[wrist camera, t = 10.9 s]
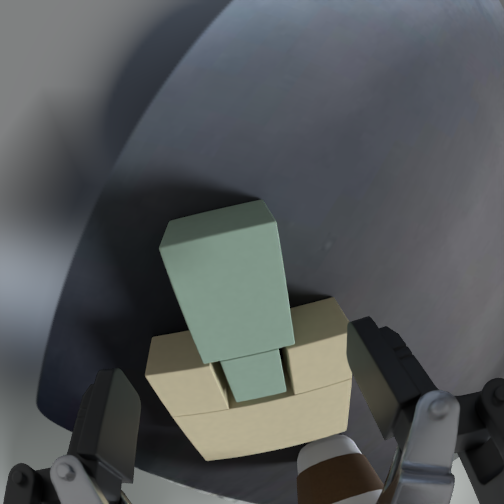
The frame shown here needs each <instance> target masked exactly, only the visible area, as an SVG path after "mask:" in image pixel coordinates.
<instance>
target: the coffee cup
mask: <svg viewBox="0 0 504 504" xmlns="http://www.w3.org/2000/svg"><path fill="white" fill-rule="evenodd" d="M297 466H298V477H297V493H298V504H376V502H377V500H378V498H379V496H380V494H381V492H382V489H383V487H384V484H383V483H382V481H381V480H380V478H379V477H378V475H377V474H376V472H375V471H374V469H373V467H372V466H371V464H370V463H369V461H368V460H367V458H366V457H365V455H363V454H361V452H360V451H359V449H358V447H357V446H356V444H355V443H354V441H353V440H351V439H350V438H349V437H347V436H345V435H331V436H328V437H325V438H321V439H318V440H315V441H313V442H311V443H309V444H307V445H306V446H305V447H303V448H302V449H301V450H300V452H299V455H298V459H297Z"/></svg>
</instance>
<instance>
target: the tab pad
mask: <svg viewBox="0 0 504 504" xmlns="http://www.w3.org/2000/svg"><path fill="white" fill-rule="evenodd" d="M159 251H160V254H161V256H162V259H163V262H164V265H165V268H166V271H167V274H168V276H169V279H170V282H171V285H172V287H173V290H174V293H175V295H176V298H177V301H178V303H179V306H180V308H181V311H182V313H183V316H184V318H185V321H186V323H187V326H188V328H189V331H190V333H191V336H192V338H193V341H194V343H195V345H196V348H197V350H198V352H199V355H200V357H201V359H202V362H203V363H204V364H206V363H212V362H217V361H220V363H221V366H222V368H223V371H224V373H225V376H226V378H227V381H228V383H229V386H230V388H231V391H232V393H233V396H234V398H235V400H236V402H242V401H247V400H252V399H257V398H261V397H266V396H270V395H275V394H279V393H283V392H286V385H285V380H284V374H283V369H282V364H281V358H280V353H279V348H282V347H286V346H290V345H293V344H295V340H294V333H293V326H292V319H291V312H290V305H289V298H288V292H287V285H286V279H285V272H284V266H283V259H282V253H281V247H280V241H279V235H278V229H277V223H276V220H275V219H274V217H273V216H272V214H271V212H270V211H269V209H268V208H267V206H266V204H265V203H264V201H263V200H256V201H252V202H247V203H243V204H238V205H234V206H229V207H225V208H220V209H216V210H212V211H208V212H203V213H199V214H195V215H191V216H187V217H183V218H179V219H175V220H171V221H169V223H168V225H167V228H166V230H165V233H164V236H163V238H162V241H161V244H160V246H159Z"/></svg>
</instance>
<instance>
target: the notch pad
mask: <svg viewBox="0 0 504 504" xmlns="http://www.w3.org/2000/svg"><path fill="white" fill-rule="evenodd" d="M290 312H291V319H292V326H293V333H294V340H295V344H293V345H290V346H286V347H282V354H283V359H281V364H282V369H283V374H284V380H285V385H286V392H283V393H279V394H275V395H270V396H266V397H261V398H257V399H252V400H247V401H242V402H236V400H235V398H234V396H233V393H232V391H231V388H230V386H229V383H228V381H227V378H226V376H225V373H224V371H223V368H222V366H221V363H220V361H217V362H212V363H206V364H204V363H203V362H202V359H201V357H200V355H199V352H198V350H197V348H196V345H195V343H194V341H193V338H192V336H191V333H190V331H189V330H188V331H183V332H177V333H172V334H166V335H161V336H155V337H152V340H151V345H150V350H149V356H148V361H147V366H146V372H145V377H146V378H147V380H148V382H149V383H150V385H151V386H152V388H153V389H154V391H155V392H156V394H157V395H158V397H159V398H160V400H161V401H162V403H163V404H164V406H165V407H166V409H167V410H168V411H169V413H170V414H171V416H172V417H173V419H174V420H175V421H176V423H177V424H178V425H179V427H180V428H181V430H182V431H183V432H184V433H185V435H186V436H187V437H188V439H189V440H190V441H191V443H192V444H193V445H194V446H195V448H196V449H197V450H198V451H199V453H200V454H201V455H202V456H203V458H204V459H205V460H206V461H210V460H219V459H227V458H234V457H240V456H246V455H252V454H258V453H263V452H268V451H273V450H278V449H282V448H287V447H291V446H295V445H299V444H303V443H307V442H310V441H314V440H318V439H321V438H325V437H328V436H331V435H334V434H338V433H341V432H344V431H346V430H347V422H348V413H349V404H350V394H351V382H352V372H351V370H350V367H349V364H348V361H347V355H346V348H347V325H348V323H349V321H348V319H347V318H346V316H345V315H344V313H343V311H342V310H341V308H340V307H339V305H338V303H337V302H336V300H335V299H334V297H332V298H328V299H324V300H320V301H317V302H313V303H309V304H305V305H301V306H297V307H293V308H290Z"/></svg>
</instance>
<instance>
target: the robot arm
mask: <svg viewBox="0 0 504 504" xmlns="http://www.w3.org/2000/svg"><path fill="white" fill-rule="evenodd" d="M346 355H347V361H348V364H349V367H350V370H351V372H352V374H353V376H354V378H355V380H356V382H357V384H358V386H359V388H360V390H361V392H362V394H363V396H364V398H365V400H366V402H367V404H368V406H369V408H370V410H371V412H372V414H373V417H374V419H375V421H376V423H377V425H378V427H379V429H380V431H381V433H382V436H383V438H384V440H388V439H390V438H392V437H395V439H396V441H397V443H398V445H397V448H396V452H395V455H394V458H393V461H392V464H391V467H390V470H389V473H388V476H387V479H386V481H385V484H384V487H383V489H382V492H381V494H380V496H379V498H378V500H377V502H376V504H449V503H450V500H451V496H452V492H453V488H454V482H455V478H454V475H453V474H452V473H451V467H452V462H453V457H454V453H458V455H459V457H460V459H461V461H462V464H463V466H464V468H465V470H466V473H467V475H468V477H469V479H470V482H471V484H472V486H473V489H474V491H475V493H476V496H477V498H478V501H479V503H480V504H504V379H503V378H495V379H492V380H490V381H489V382H487V383H486V384H485V386H484V387H483V389H482V391H480V392H476V393H471V394H467V395H462V396H453V395H452V394H451V393H449V392H446V391H443V390H439V389H438V388H437V387H436V386H435V385H434V384H433V382H432V381H431V379H430V378H429V376H428V375H427V373H426V372H425V370H424V369H423V368H422V366H421V365H420V363H419V362H418V360H417V359H416V358H415V356H414V355H412V352H411V351H410V349H409V348H408V346H407V347H406V344H405V342H404V341H403V340H402V338H401V337H400V336H399V334H398V333H396V332H395V331H393V330H391V329H390V328H388V327H387V326H385V327H382V328H378V327H377V325H376V324H375V322H374V321H373V320H372V318H371V317H369V316H368V317H365V318H362V319H358V320H355V321H352V322H349V323H348V325H347V348H346ZM140 413H141V401H140V398H139V395H138V393H137V392H136V390H135V389H134V387H133V386H132V385H131V383H130V382H129V380H128V379H127V377H126V376H125V374H124V373H123V371H122V370H121V369H120V368H113V369H103V370H99V372H98V374H97V377H96V380H95V383H94V384H91V385H90V386H89V388H88V389H87V390H86V392H85V393H84V395H83V397H82V401H81V404H80V409H79V411H78V414H77V417H78V418H76V422H75V425H74V429H73V433H72V437H71V441H70V445H69V449H68V452H67V455H63V456H61V457H59V458H57V459H56V460H55V461H54V463H53V464H52V466H51V468H47V469H42V470H36V471H35V470H33V469H32V468H31V467H29V466H28V465H26V464H24V463H20V464H17V465H15V466H14V467H13V468H12V469H11V471H10V473H9V476H8V481H7V486H6V491H5V497H4V503H3V504H132V503H131V502H130V501H129V499H128V498H127V496H126V495H125V493H124V492H123V491H122V490H121V484H122V483H133V475H134V465H135V454H136V445H137V436H138V428H139V420H140Z"/></svg>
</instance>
